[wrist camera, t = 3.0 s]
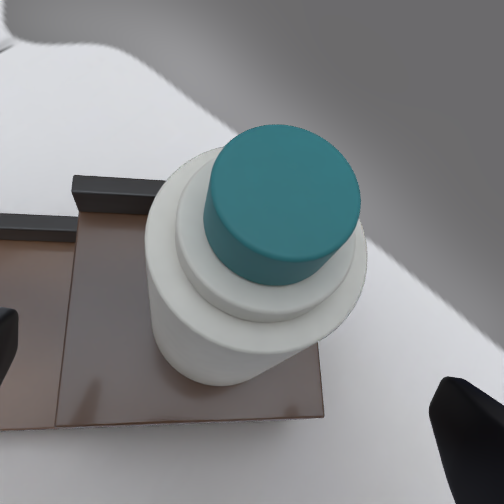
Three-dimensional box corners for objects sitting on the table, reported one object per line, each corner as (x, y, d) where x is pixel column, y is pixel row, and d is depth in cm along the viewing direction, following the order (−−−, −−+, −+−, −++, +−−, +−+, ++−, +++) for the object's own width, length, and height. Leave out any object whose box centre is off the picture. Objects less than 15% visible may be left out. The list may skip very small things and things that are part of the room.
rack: (287, 420, 20) (341, 416, 14) (-209, 439, 16) (-422, 445, 10) (276, 252, 23) (318, 189, 17) (-146, 237, 19) (-284, 151, 13)
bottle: (305, 362, 16) (470, 286, 7) (171, 406, 14) (185, 374, 6) (262, 240, 17) (359, 59, 9) (137, 269, 16) (109, 89, 7)
